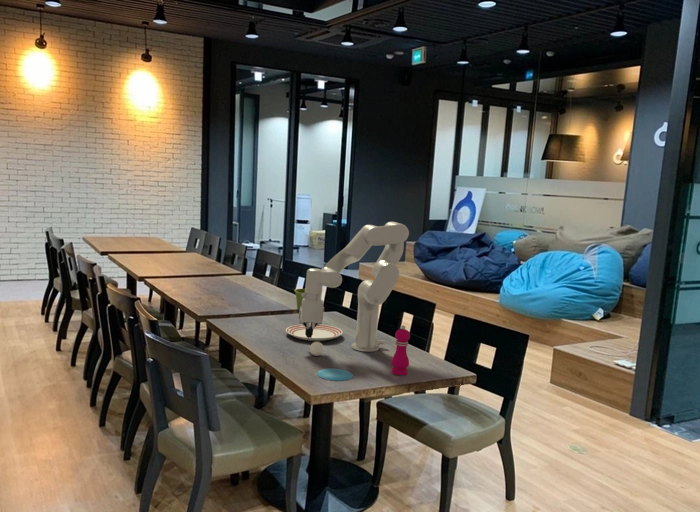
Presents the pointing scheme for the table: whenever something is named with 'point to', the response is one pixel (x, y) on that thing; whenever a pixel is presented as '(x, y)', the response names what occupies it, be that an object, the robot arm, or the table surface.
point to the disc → (334, 374)
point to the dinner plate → (315, 332)
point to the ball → (316, 348)
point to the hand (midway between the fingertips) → (308, 336)
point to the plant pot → (299, 297)
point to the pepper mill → (401, 352)
